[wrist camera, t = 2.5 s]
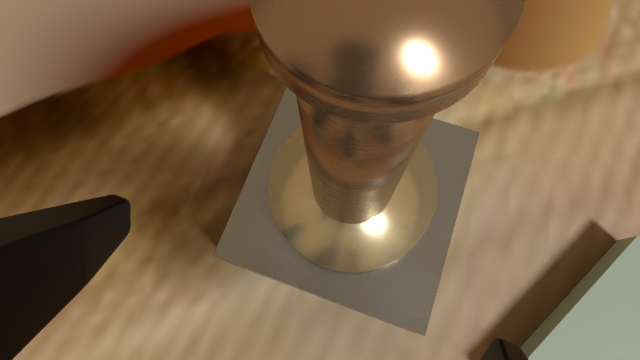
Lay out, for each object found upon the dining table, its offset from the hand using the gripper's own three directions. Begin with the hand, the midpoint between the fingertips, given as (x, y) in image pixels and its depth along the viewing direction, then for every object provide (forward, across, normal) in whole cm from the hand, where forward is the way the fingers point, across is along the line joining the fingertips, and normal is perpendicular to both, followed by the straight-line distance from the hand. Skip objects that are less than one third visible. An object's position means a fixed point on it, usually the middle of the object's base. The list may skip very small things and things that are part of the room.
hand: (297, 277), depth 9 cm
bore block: (+12, 0, +5) cm, 13 cm away
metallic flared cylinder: (+12, 0, +5) cm, 12 cm away
